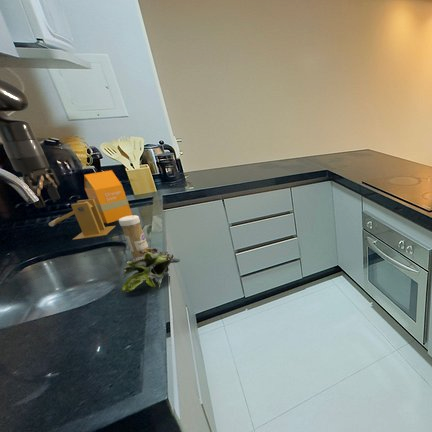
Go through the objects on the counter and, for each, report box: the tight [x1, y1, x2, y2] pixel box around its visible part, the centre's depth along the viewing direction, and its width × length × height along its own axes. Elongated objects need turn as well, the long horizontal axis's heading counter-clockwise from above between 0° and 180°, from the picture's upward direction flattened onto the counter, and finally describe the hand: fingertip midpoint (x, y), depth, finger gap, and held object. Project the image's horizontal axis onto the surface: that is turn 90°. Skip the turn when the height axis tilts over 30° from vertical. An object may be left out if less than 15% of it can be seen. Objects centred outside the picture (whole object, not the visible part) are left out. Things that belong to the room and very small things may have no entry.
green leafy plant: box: [121, 247, 181, 294], centre depth 76 cm, size 11×11×12 cm
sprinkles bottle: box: [118, 214, 150, 261], centre depth 88 cm, size 5×5×13 cm
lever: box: [48, 201, 93, 227], centre depth 102 cm, size 12×5×2 cm, turn 113°
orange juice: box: [83, 169, 133, 224], centre depth 117 cm, size 8×9×20 cm
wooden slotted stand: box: [70, 198, 116, 241], centre depth 105 cm, size 9×9×13 cm
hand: (48, 203), depth 99 cm, fingers open, 8 cm apart
